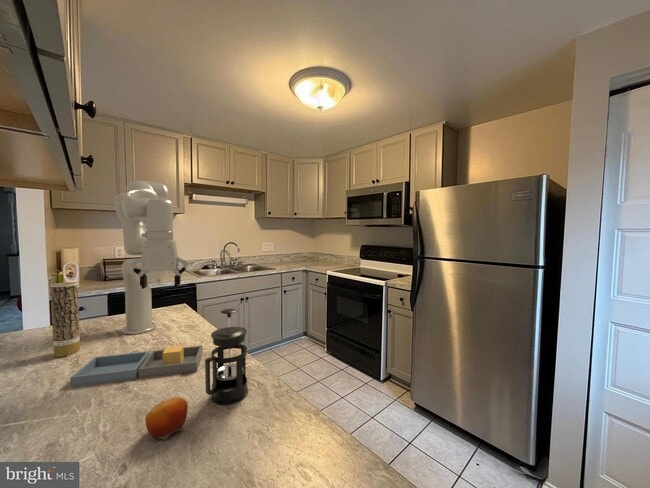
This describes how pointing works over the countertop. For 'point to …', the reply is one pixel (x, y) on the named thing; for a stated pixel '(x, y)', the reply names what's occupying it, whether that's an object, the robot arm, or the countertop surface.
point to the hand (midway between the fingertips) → (160, 287)
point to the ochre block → (173, 355)
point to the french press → (227, 365)
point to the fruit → (167, 417)
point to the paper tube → (65, 318)
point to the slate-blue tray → (110, 369)
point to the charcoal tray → (156, 367)
